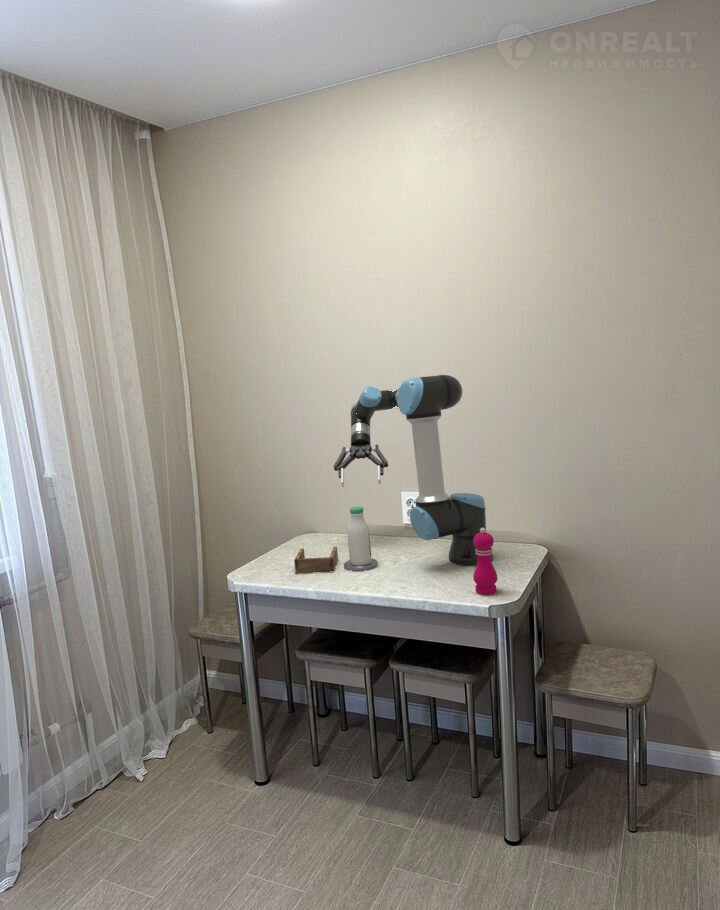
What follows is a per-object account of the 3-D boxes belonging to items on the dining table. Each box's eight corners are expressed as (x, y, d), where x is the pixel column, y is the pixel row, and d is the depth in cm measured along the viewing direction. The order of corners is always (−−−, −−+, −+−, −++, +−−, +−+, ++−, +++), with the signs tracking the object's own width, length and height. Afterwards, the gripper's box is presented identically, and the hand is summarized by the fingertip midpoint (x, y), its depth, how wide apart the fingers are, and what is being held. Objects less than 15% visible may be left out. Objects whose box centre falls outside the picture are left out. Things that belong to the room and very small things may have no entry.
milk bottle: (369, 566, 243) (365, 510, 240) (347, 566, 245) (343, 510, 242) (373, 559, 251) (369, 504, 248) (352, 559, 252) (348, 505, 249)
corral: (333, 572, 243) (332, 558, 243) (295, 573, 245) (294, 560, 244) (338, 559, 257) (336, 546, 256) (301, 561, 258) (300, 548, 257)
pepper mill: (471, 595, 212) (468, 530, 209) (476, 586, 218) (473, 524, 215) (495, 596, 209) (492, 531, 206) (500, 588, 216) (497, 524, 213)
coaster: (383, 566, 245) (383, 563, 245) (352, 573, 240) (352, 570, 240) (368, 558, 256) (368, 555, 256) (338, 564, 251) (338, 562, 251)
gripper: (393, 441, 272) (395, 486, 259) (329, 446, 274) (328, 491, 262) (392, 429, 266) (394, 475, 253) (327, 434, 268) (325, 479, 256)
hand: (361, 483), depth 257 cm, fingers open, 13 cm apart
